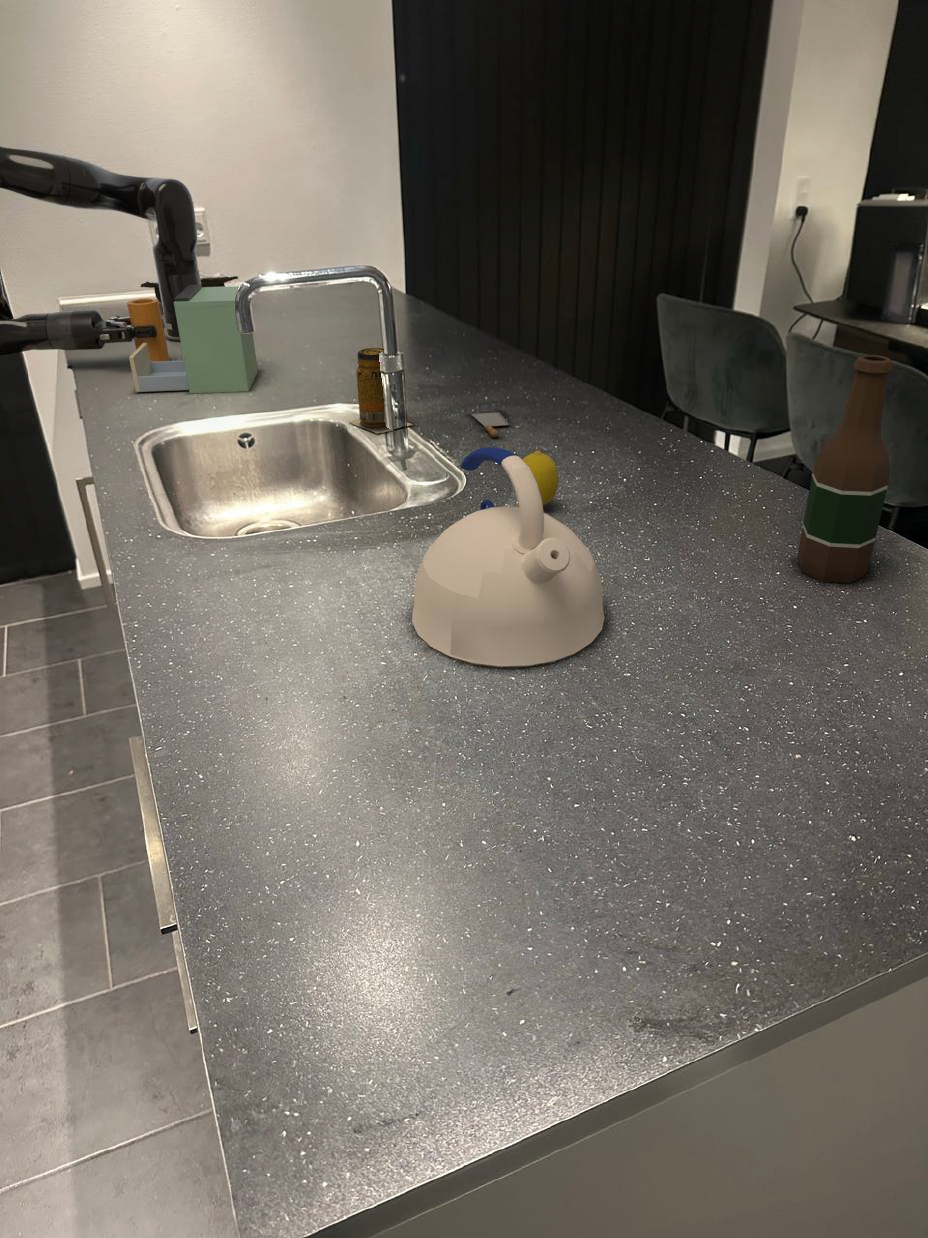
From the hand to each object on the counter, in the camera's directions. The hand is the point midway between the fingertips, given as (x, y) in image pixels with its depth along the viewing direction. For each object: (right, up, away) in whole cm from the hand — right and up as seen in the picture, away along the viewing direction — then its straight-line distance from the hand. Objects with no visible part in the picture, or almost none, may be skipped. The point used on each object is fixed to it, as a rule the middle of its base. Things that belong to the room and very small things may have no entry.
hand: (159, 327), depth 183 cm
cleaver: (+67, -27, -33) cm, 80 cm away
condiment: (+48, -27, -32) cm, 63 cm away
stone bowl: (-10, +22, +55) cm, 60 cm away
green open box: (+15, -13, -7) cm, 21 cm away
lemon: (+71, -45, -63) cm, 105 cm away
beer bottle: (+104, -54, -80) cm, 141 cm away
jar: (-2, -7, +4) cm, 8 cm away
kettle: (+66, -59, -88) cm, 125 cm away
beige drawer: (+5, -13, -8) cm, 16 cm away
